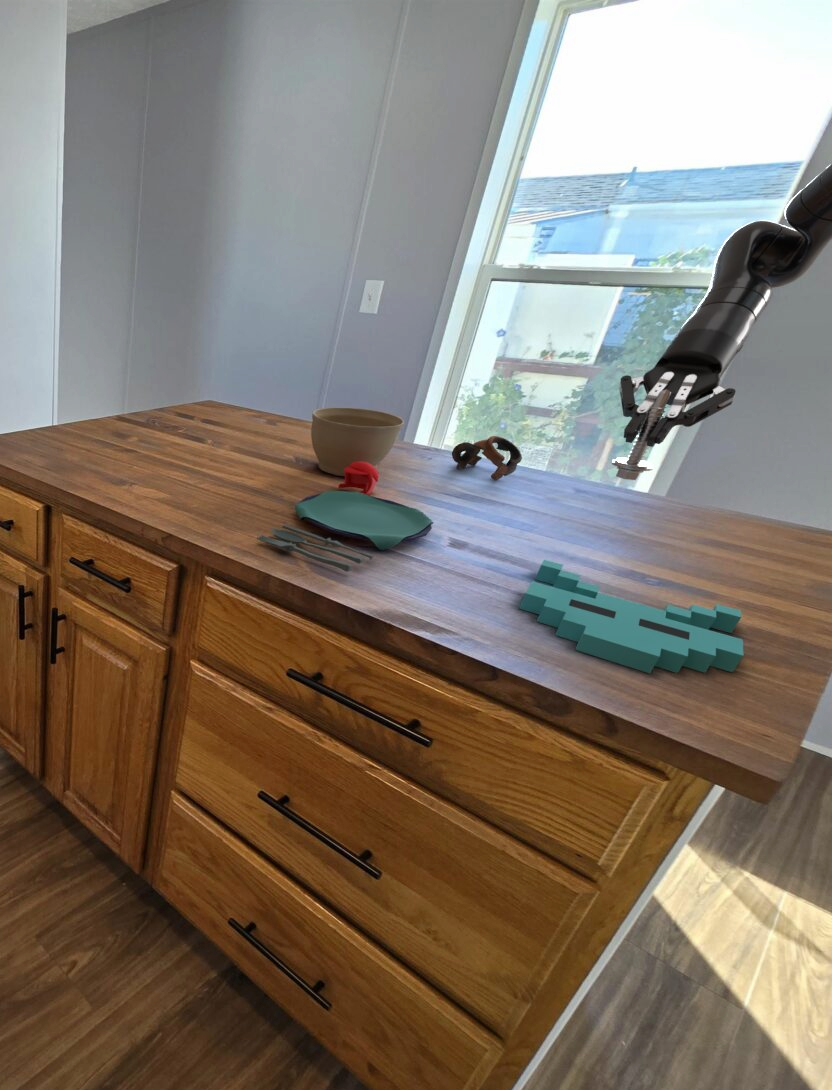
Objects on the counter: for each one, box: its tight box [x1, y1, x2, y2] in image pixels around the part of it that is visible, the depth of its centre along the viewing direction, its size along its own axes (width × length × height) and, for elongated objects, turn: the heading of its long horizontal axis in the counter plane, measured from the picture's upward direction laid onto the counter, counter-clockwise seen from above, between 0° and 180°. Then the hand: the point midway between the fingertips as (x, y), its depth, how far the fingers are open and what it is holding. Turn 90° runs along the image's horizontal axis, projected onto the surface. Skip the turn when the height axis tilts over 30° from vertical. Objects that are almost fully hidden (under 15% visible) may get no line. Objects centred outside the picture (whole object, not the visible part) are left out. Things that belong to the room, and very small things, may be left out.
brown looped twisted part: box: [451, 435, 523, 481], centre depth 129 cm, size 12×10×8 cm
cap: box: [338, 461, 380, 496], centre depth 118 cm, size 8×6×6 cm
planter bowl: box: [310, 406, 405, 477], centre depth 128 cm, size 16×16×11 cm
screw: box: [610, 389, 671, 481], centre depth 96 cm, size 13×5×5 cm
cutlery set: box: [256, 490, 434, 573], centre depth 103 cm, size 20×30×2 cm, turn 130°
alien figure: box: [518, 559, 745, 674], centre depth 79 cm, size 20×2×20 cm
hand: (639, 441), depth 95 cm, fingers closed on screw, 2 cm apart
